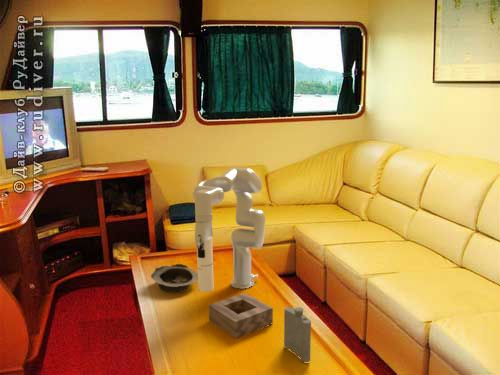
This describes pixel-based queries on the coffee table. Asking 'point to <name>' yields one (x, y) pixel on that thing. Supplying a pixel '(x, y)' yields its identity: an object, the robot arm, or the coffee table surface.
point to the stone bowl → (174, 277)
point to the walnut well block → (240, 315)
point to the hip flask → (297, 332)
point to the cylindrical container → (206, 268)
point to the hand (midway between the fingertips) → (204, 254)
